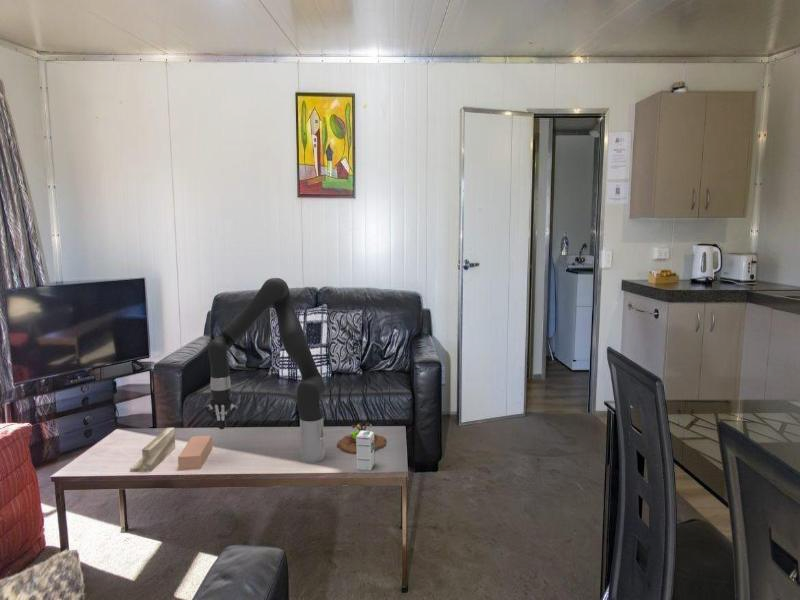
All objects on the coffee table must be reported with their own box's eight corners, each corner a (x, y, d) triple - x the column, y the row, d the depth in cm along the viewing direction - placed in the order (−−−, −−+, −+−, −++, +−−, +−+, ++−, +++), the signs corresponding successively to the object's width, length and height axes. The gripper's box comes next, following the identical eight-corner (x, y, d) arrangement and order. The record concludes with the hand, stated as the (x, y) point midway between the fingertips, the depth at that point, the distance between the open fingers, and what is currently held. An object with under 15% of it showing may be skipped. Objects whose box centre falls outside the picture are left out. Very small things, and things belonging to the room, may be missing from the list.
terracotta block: (212, 449, 217) (211, 435, 216) (200, 470, 197) (199, 455, 196) (192, 450, 216) (192, 436, 215) (178, 471, 196) (178, 457, 195)
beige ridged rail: (175, 448, 217) (174, 427, 216) (151, 472, 195) (149, 449, 194) (156, 448, 217) (155, 427, 216) (130, 472, 195) (128, 449, 194)
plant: (328, 450, 215) (328, 425, 214) (354, 434, 232) (354, 411, 231) (369, 460, 206) (368, 434, 204) (392, 443, 223) (392, 418, 221)
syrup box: (371, 473, 194) (371, 436, 192) (356, 471, 195) (356, 435, 194) (375, 466, 200) (374, 431, 198) (360, 465, 201) (360, 429, 199)
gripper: (240, 384, 206) (241, 425, 209) (207, 384, 206) (208, 425, 209) (234, 390, 199) (235, 432, 201) (200, 389, 199) (202, 432, 201)
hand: (222, 428), depth 205 cm, fingers closed
